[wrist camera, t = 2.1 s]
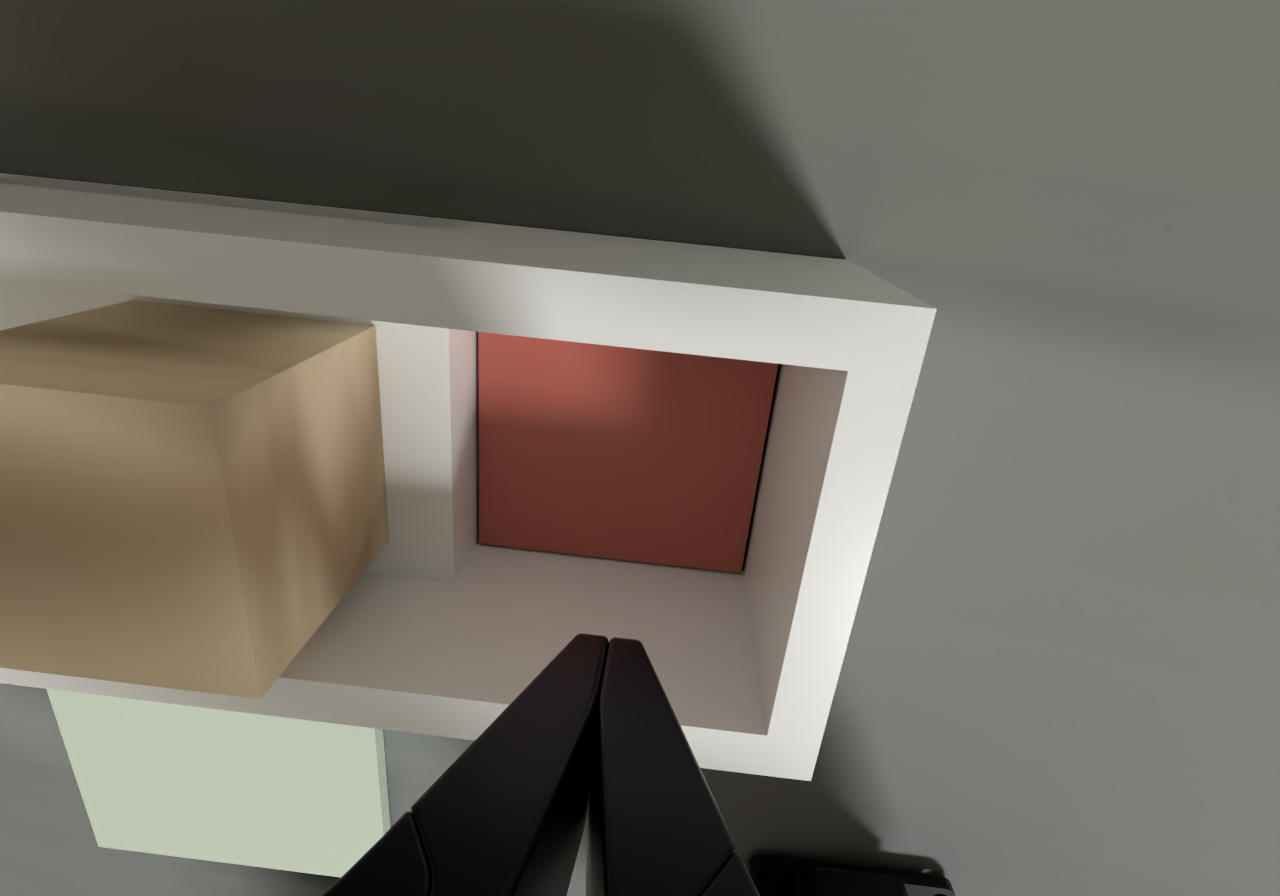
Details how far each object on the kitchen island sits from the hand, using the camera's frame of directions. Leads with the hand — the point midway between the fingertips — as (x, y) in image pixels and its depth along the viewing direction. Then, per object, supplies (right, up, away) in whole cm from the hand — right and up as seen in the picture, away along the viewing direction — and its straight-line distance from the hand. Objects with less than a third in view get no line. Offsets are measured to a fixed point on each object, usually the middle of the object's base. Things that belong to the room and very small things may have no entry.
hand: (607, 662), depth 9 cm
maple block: (-8, +3, +6) cm, 10 cm away
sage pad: (-13, -7, +12) cm, 19 cm away
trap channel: (-9, +4, +8) cm, 12 cm away
